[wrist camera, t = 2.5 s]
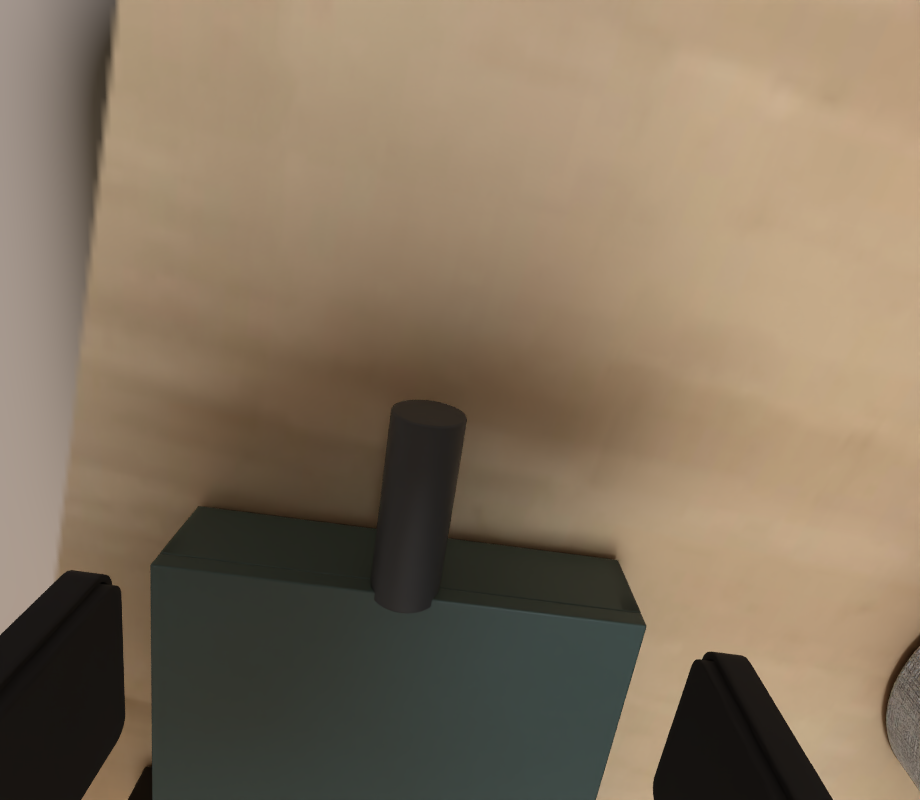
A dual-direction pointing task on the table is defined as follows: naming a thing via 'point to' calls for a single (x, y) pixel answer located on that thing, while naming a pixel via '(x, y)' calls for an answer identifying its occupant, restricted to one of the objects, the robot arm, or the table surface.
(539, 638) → the dustpan
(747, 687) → the robot arm
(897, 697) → the planter
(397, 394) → the table surface
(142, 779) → the pair of dark blocks
